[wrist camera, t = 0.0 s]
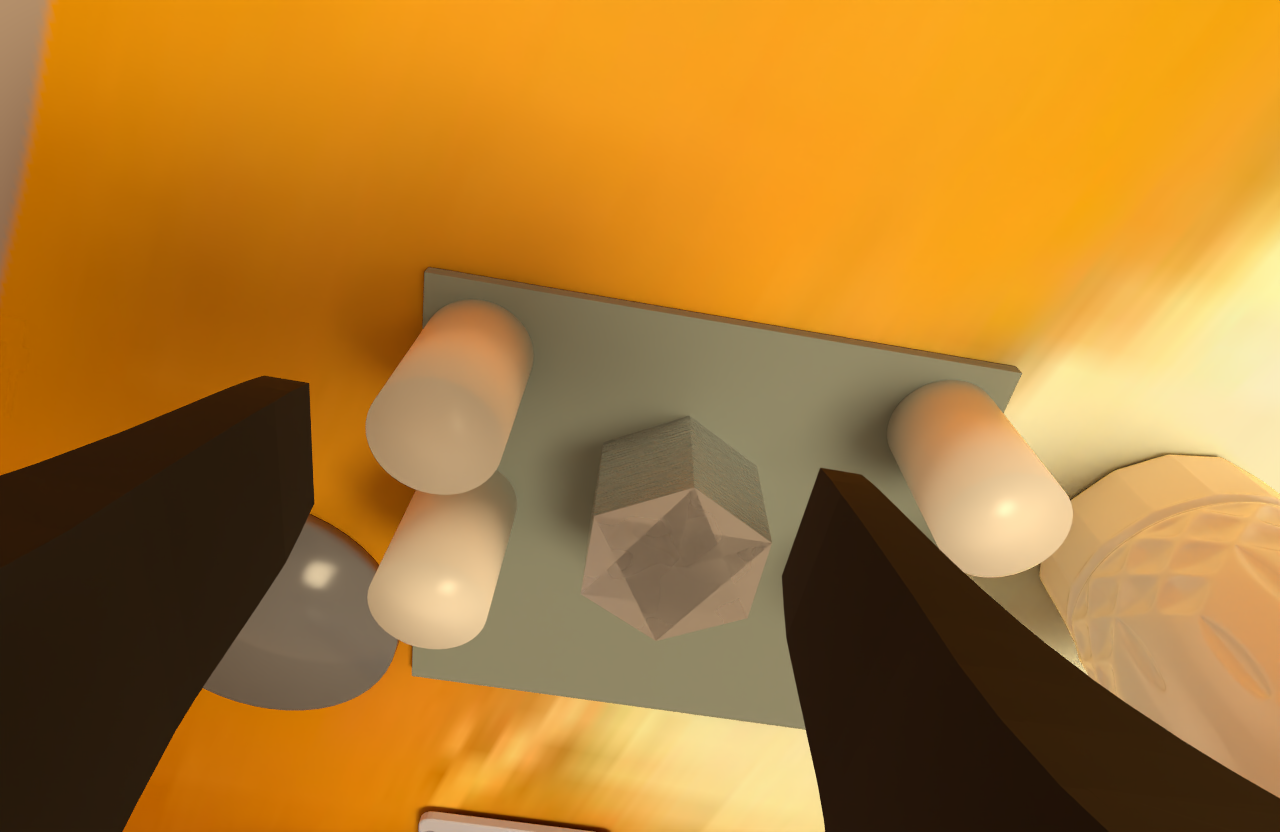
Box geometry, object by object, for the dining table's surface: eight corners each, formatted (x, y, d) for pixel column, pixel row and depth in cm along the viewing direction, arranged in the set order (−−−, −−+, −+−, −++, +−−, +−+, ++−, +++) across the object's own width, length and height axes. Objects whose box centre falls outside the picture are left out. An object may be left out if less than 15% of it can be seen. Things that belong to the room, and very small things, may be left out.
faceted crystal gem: (726, 567, 24) (736, 652, 21) (585, 546, 24) (574, 629, 21) (768, 428, 22) (785, 501, 18) (610, 402, 21) (601, 473, 18)
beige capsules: (913, 605, 25) (960, 723, 21) (416, 531, 24) (367, 640, 20) (1014, 389, 21) (1096, 484, 17) (423, 290, 20) (365, 366, 16)
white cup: (1338, 441, 22) (1788, 745, 13) (1221, 640, 26) (1508, 977, 17) (1063, 426, 22) (1330, 721, 13) (988, 628, 26) (1155, 958, 17)
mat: (849, 726, 28) (852, 736, 28) (415, 666, 27) (411, 675, 27) (1016, 366, 21) (1022, 373, 20) (428, 267, 20) (424, 271, 19)
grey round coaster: (399, 711, 28) (395, 725, 28) (152, 678, 28) (142, 691, 27) (403, 521, 24) (398, 533, 23) (109, 477, 23) (96, 488, 23)
